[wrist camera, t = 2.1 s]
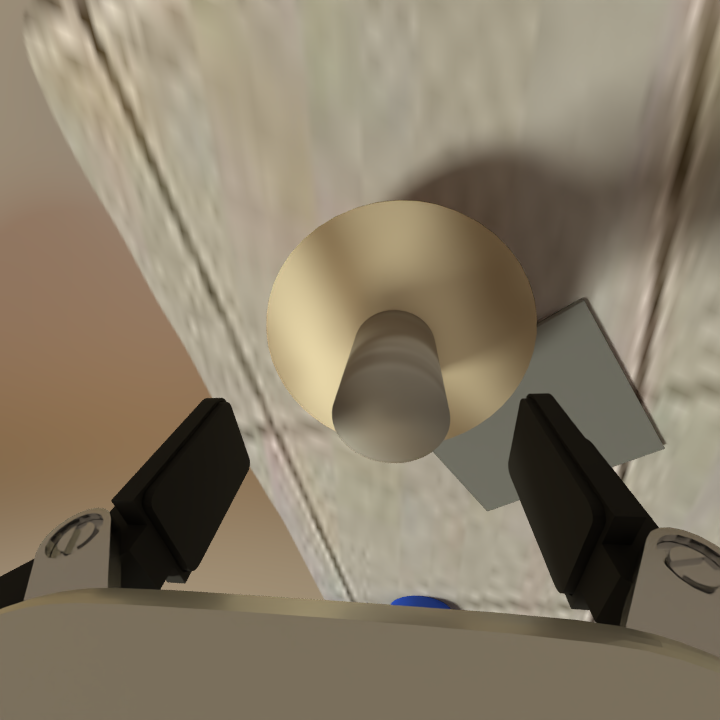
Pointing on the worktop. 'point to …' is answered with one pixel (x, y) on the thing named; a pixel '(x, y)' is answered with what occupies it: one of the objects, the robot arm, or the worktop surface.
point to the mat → (573, 393)
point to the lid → (401, 326)
